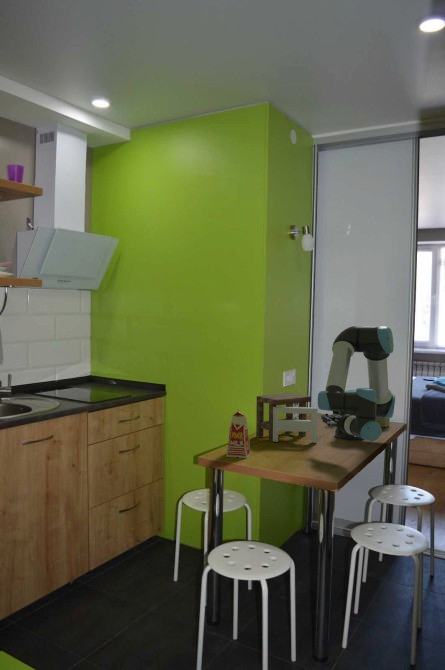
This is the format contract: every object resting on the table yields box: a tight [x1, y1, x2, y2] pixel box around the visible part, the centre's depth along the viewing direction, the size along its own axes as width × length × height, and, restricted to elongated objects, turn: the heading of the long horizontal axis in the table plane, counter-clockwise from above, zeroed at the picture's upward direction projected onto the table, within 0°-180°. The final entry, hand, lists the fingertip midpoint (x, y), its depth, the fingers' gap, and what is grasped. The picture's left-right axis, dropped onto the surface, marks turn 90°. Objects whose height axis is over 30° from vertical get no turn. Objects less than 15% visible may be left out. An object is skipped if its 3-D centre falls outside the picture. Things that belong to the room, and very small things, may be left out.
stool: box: [255, 392, 312, 442], centre depth 261 cm, size 16×22×20 cm
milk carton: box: [225, 408, 251, 459], centre depth 225 cm, size 9×9×20 cm
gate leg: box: [272, 406, 318, 444], centre depth 249 cm, size 2×20×16 cm, turn 85°
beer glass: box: [293, 403, 299, 420], centre depth 302 cm, size 7×7×15 cm
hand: (320, 415), depth 235 cm, fingers closed
